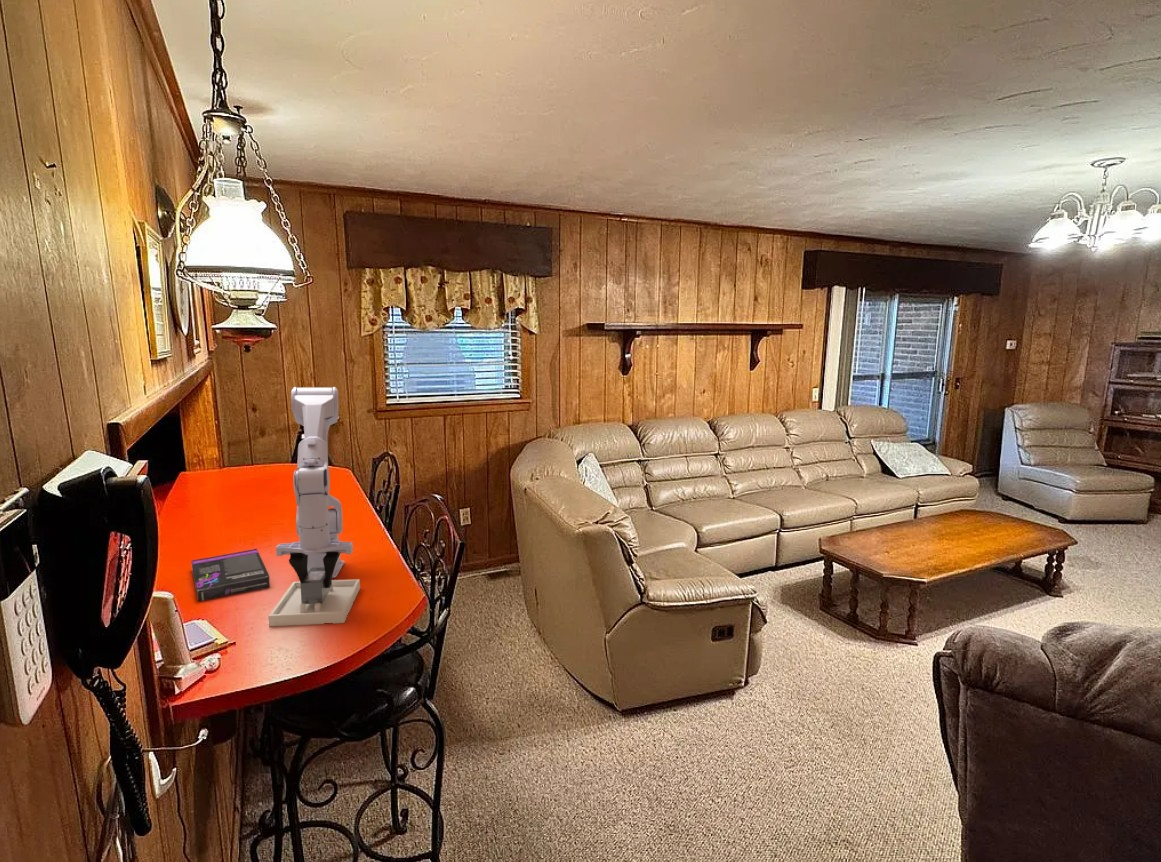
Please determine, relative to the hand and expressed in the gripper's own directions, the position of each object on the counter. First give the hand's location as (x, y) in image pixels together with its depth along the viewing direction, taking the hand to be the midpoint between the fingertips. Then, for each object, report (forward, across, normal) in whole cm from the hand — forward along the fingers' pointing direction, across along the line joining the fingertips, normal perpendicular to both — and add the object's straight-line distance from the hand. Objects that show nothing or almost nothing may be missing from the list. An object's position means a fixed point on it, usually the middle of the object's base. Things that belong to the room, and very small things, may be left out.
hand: (316, 586), depth 126 cm
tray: (+4, 0, 0) cm, 4 cm away
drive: (+2, 0, 0) cm, 2 cm away
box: (+5, -23, +16) cm, 29 cm away
